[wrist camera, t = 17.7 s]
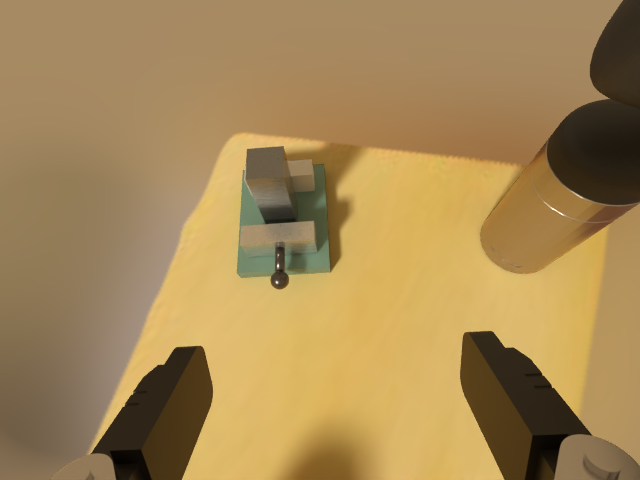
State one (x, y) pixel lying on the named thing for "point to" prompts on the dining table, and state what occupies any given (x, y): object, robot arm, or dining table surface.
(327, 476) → the dining table surface
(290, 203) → the steel bar
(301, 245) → the vise jaw
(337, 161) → the dining table surface
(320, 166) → the vise
